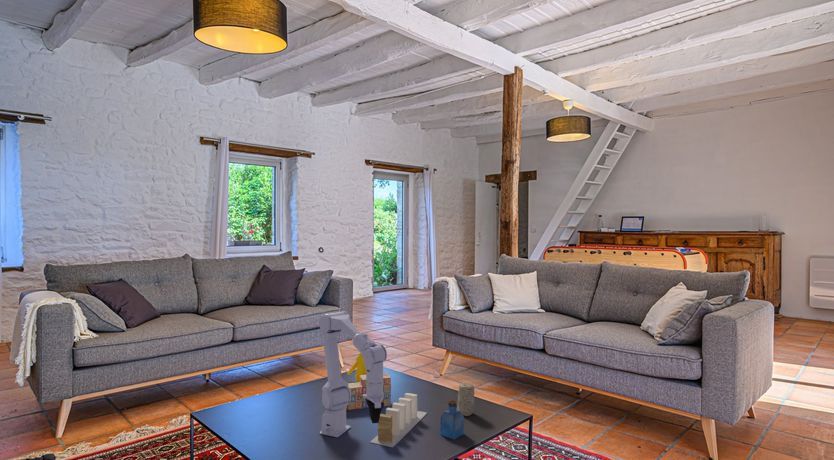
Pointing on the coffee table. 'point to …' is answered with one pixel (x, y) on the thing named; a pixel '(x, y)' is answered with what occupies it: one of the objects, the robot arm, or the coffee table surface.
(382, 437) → the ochre tile
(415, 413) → the domino
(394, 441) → the felt strip
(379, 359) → the robot arm
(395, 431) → the domino
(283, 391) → the coffee table surface
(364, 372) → the figure statuette
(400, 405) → the domino
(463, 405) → the carving
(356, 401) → the stack of blocks
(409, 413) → the domino
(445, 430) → the perfume bottle
